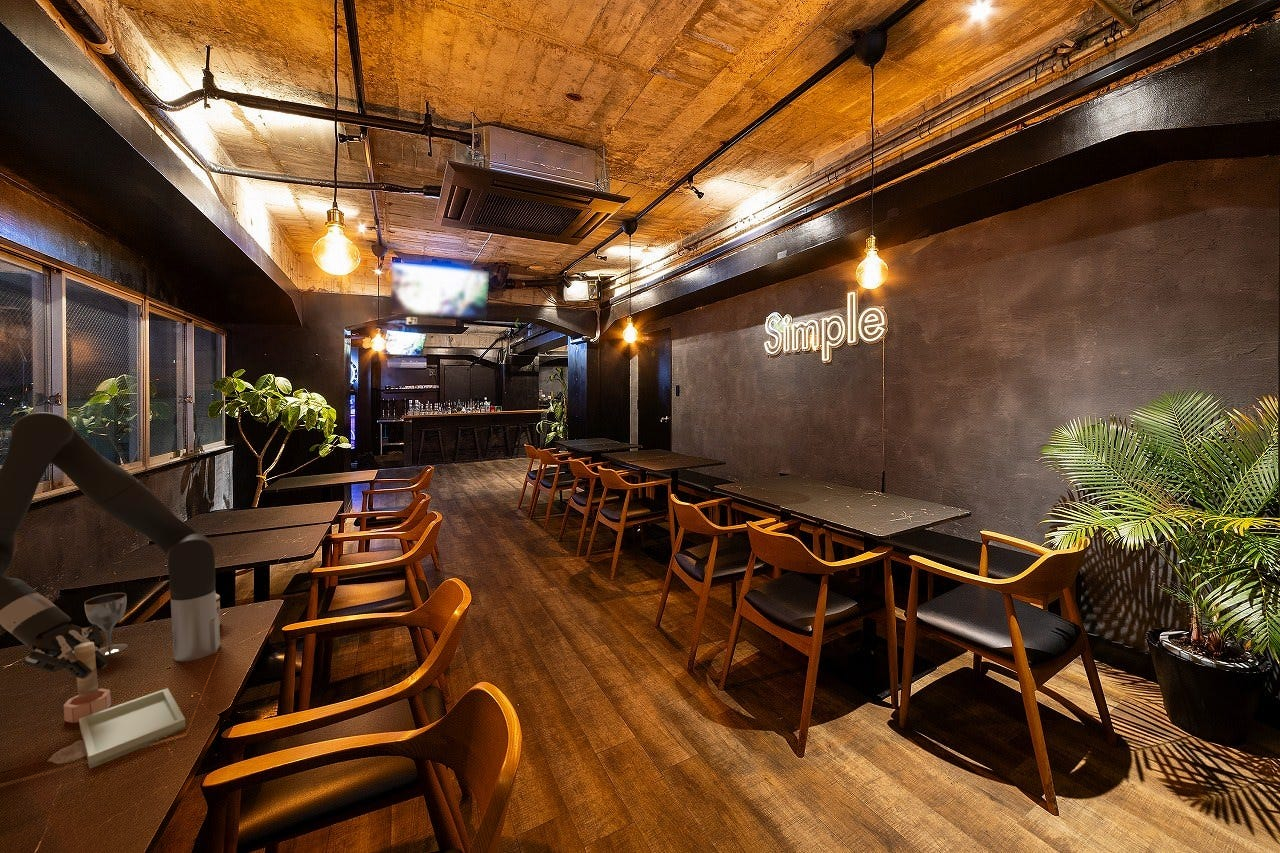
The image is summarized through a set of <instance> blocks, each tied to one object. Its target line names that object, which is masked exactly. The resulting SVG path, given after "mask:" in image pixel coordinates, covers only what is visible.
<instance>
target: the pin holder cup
mask: <svg viewBox="0 0 1280 853" xmlns="http://www.w3.org/2000/svg"><path fill="white" fill-rule="evenodd" d="M111 698H112V696H111V690H110V689H107V688H98V691H96V692H95V693H93V694H90V695H87V696H78V695H75V696H73V697H71V698H69V699H67V701H66V702H65V703H64V704H63V715H64V716H63V717H64V722H67V723H72V724H73V723H74V724H75V723H79V718H82V717H85V716H88V715H91V714H93V713H96V712H99V711H102V710H105V709H108V708H111V707H112V699H111Z"/></svg>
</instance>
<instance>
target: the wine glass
mask: <svg viewBox="0 0 1280 853" xmlns="http://www.w3.org/2000/svg"><path fill="white" fill-rule="evenodd" d="M127 603H128V599H127V593H125V592H112V593H106V594H102V595H98V596H95V597H92V598H90V599H89V598H88V599H87V600H85V601H84V611H85V615H86V617H87V620H88V622H89V623H90V624H91V625H93V624H96V625H98V628H99V629H101V630H102V631H103V632H104V634H105V638H106V646H104V647H100V648H99V649H98V651H99V652H100V653H101V654H102V655H103V656H105V657H108V656H111V655H115V654H119V653H120V652H122V651H124V650H126V649H127V648H128V647H129V644H127V643H115V644H112V631H113V628H114V627H115V625H116V624H117V623H118V622H119V621H120V620H121V619H122V618H123V616H125V613H126V610H127Z"/></svg>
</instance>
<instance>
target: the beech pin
mask: <svg viewBox="0 0 1280 853" xmlns="http://www.w3.org/2000/svg"><path fill="white" fill-rule="evenodd" d="M73 655H74V656H75V657H76V658H77V661H78V660H80V661H81V662H82V663H84V664H85V665H86V666H87V667H88V668H90V669H91V670H92V672H91V673H90V674H89V675H88V676H87V677H86V678H84V679H81V678H78V677H76V684H77V694H78V696H87V695H90V694H93V693H95V692H96V691H98V689H99V682H98V681H99V680H98V671H97V670H98V669H97V668H96V659H95V648H94V642H87V643H83V644H79V645H77V646H75V647H74V653H73Z"/></svg>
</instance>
